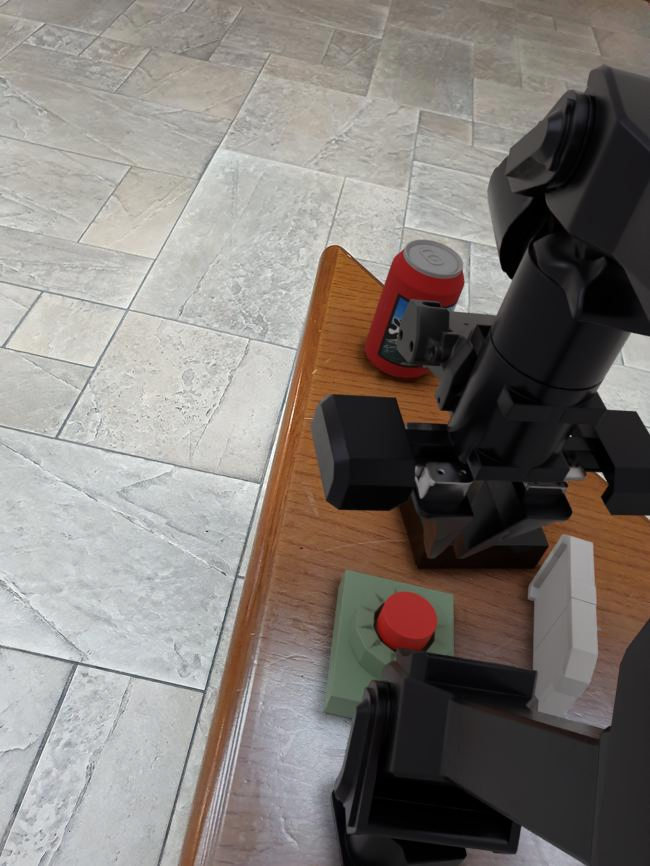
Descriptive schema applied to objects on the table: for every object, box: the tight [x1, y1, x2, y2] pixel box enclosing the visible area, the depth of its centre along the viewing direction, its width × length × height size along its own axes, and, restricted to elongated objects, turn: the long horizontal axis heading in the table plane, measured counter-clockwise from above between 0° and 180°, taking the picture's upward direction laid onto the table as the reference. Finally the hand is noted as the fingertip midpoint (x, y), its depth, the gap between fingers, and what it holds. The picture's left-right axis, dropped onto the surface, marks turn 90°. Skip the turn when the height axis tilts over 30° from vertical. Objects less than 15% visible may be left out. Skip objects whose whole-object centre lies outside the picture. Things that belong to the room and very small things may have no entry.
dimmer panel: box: [398, 496, 550, 569], centre depth 69 cm, size 10×10×3 cm
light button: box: [377, 592, 437, 651], centre depth 56 cm, size 4×4×2 cm
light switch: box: [527, 533, 599, 718], centre depth 59 cm, size 2×12×8 cm, turn 168°
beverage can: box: [364, 238, 466, 379], centre depth 79 cm, size 7×7×12 cm
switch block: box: [323, 569, 455, 720], centre depth 57 cm, size 10×8×4 cm
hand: (443, 552), depth 51 cm, fingers closed
